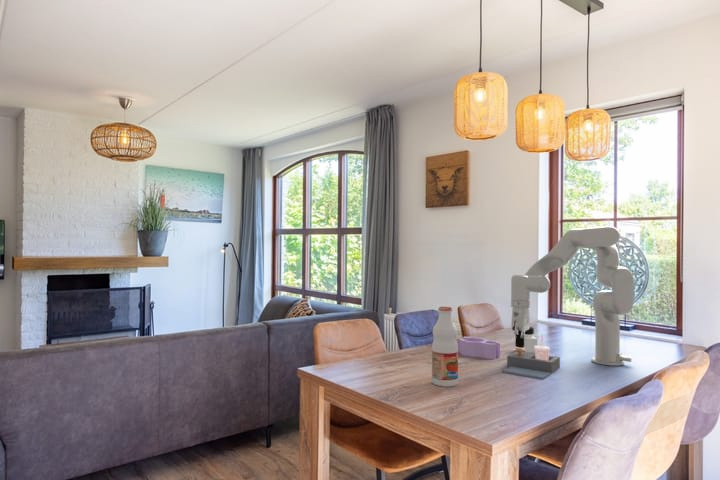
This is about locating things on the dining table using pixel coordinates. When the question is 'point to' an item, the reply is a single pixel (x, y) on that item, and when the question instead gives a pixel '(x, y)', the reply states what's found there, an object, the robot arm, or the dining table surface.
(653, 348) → the dining table surface
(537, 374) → the mat
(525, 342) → the medicine bottle
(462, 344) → the purple cup holder
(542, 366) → the grey desk organizer
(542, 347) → the beverage cup
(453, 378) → the fruit juice
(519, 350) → the plunger
